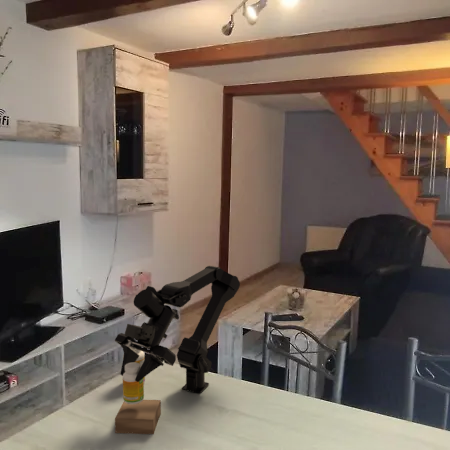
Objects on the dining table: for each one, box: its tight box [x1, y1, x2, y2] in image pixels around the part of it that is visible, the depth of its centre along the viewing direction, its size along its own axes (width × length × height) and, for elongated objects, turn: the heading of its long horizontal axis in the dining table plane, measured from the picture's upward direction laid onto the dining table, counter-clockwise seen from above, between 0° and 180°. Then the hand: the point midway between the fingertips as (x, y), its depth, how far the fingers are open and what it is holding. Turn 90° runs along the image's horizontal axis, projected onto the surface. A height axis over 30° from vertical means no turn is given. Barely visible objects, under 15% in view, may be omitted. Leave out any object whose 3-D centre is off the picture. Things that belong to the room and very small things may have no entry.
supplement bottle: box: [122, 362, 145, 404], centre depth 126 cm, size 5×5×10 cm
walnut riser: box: [114, 399, 162, 435], centre depth 128 cm, size 10×10×4 cm
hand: (128, 378), depth 125 cm, fingers closed on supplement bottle, 5 cm apart
